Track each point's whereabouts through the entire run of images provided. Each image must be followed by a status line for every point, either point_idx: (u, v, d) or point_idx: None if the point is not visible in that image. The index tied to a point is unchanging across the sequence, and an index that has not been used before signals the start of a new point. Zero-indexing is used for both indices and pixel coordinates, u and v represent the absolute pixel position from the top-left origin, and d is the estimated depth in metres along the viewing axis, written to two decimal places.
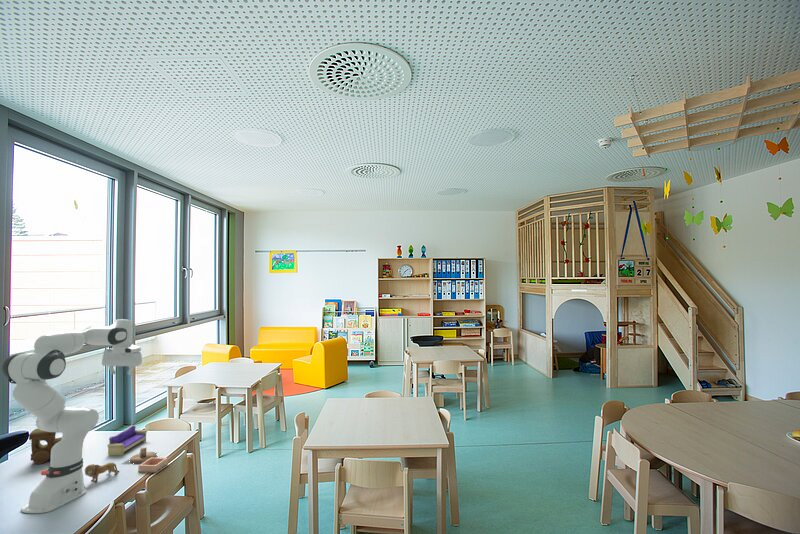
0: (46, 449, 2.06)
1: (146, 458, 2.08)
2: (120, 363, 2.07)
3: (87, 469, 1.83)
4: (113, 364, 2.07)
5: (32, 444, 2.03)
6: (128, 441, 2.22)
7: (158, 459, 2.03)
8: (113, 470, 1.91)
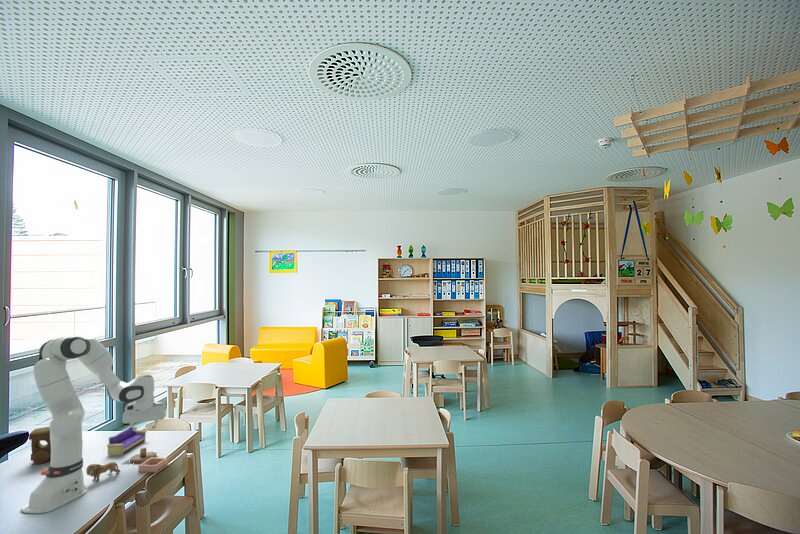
0: (46, 449, 2.06)
1: (146, 458, 2.08)
2: None
3: (89, 469, 1.84)
4: None
5: (32, 444, 2.03)
6: (128, 441, 2.22)
7: (158, 459, 2.03)
8: (114, 470, 1.92)
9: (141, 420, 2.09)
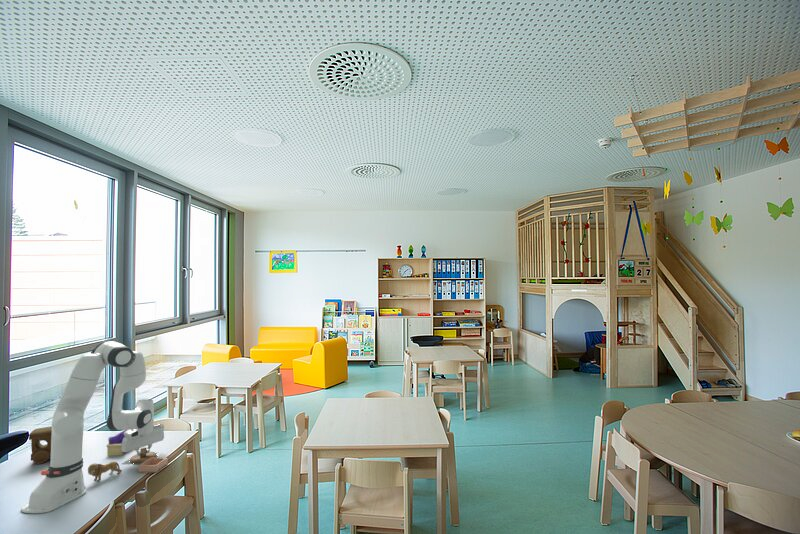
0: (46, 449, 2.06)
1: (146, 458, 2.08)
2: None
3: (90, 468, 1.84)
4: None
5: (32, 444, 2.03)
6: None
7: (158, 459, 2.03)
8: (116, 469, 1.92)
9: (143, 445, 2.09)
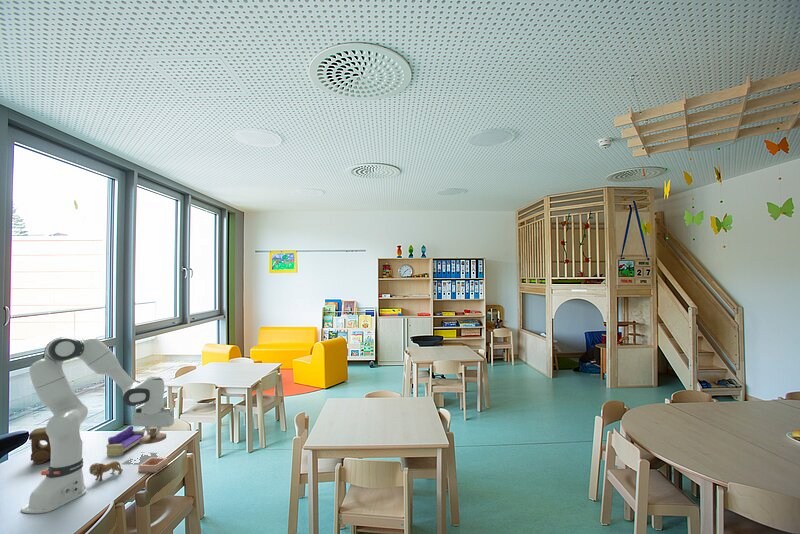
0: (46, 449, 2.06)
1: (147, 440, 1.97)
2: None
3: (92, 468, 1.84)
4: None
5: (32, 444, 2.03)
6: (127, 441, 2.22)
7: (158, 459, 2.03)
8: (117, 469, 1.93)
9: (149, 425, 2.00)
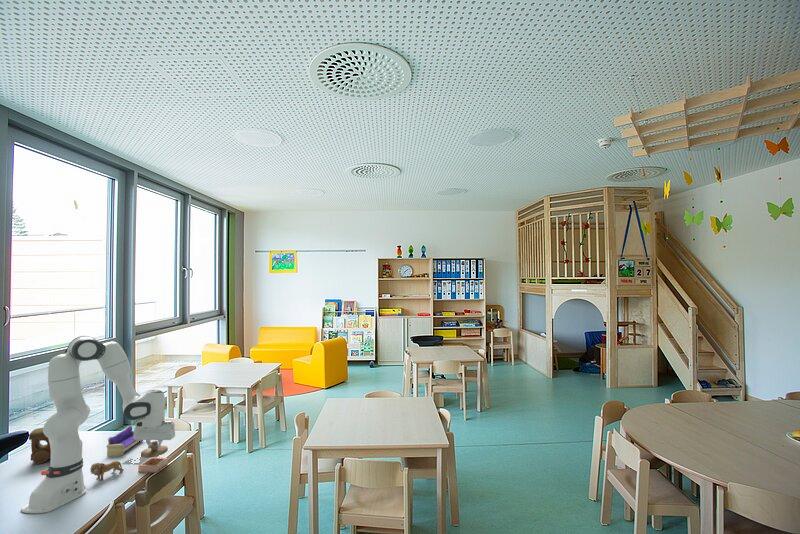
0: (46, 449, 2.06)
1: (149, 453, 1.96)
2: None
3: (93, 468, 1.85)
4: None
5: (32, 444, 2.03)
6: (127, 441, 2.22)
7: (158, 459, 2.03)
8: (118, 468, 1.93)
9: (150, 438, 1.98)
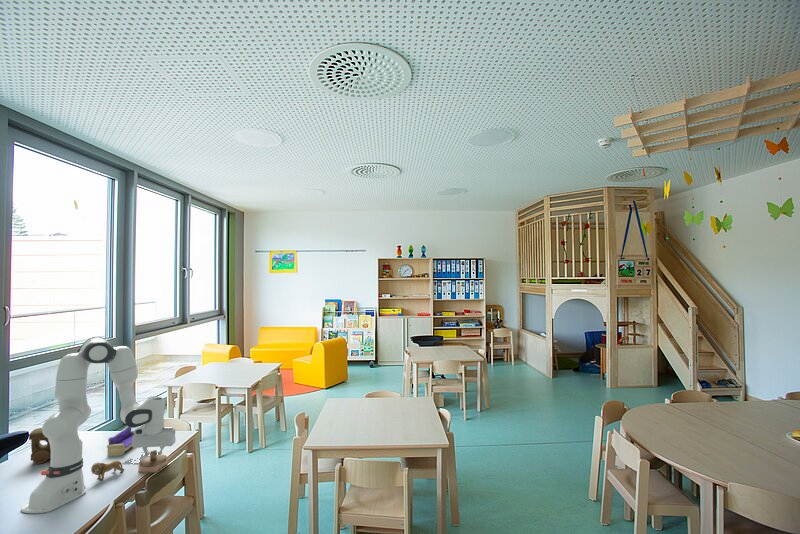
0: (46, 449, 2.06)
1: (149, 463, 1.96)
2: None
3: (94, 467, 1.85)
4: None
5: (32, 444, 2.03)
6: (127, 441, 2.22)
7: None
8: (119, 468, 1.93)
9: (150, 445, 1.98)
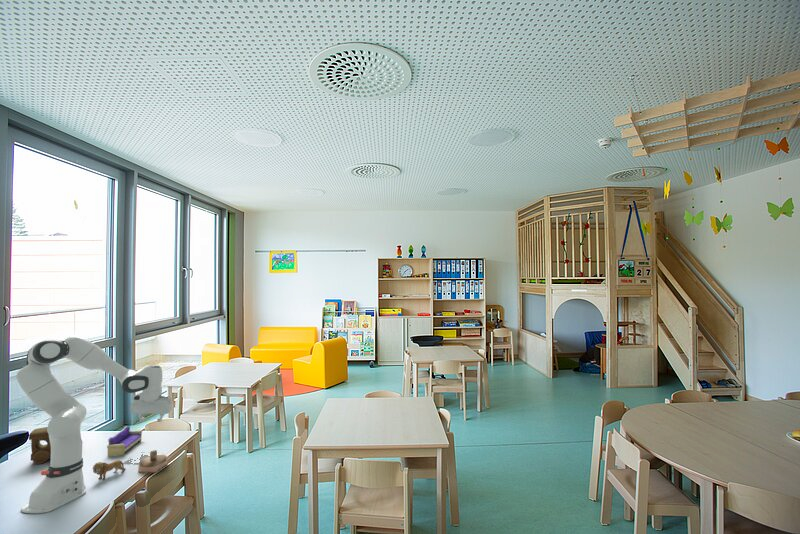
0: (46, 449, 2.06)
1: (149, 463, 1.96)
2: None
3: (95, 467, 1.85)
4: None
5: (32, 444, 2.03)
6: (126, 441, 2.22)
7: None
8: (120, 468, 1.94)
9: (147, 412, 2.03)
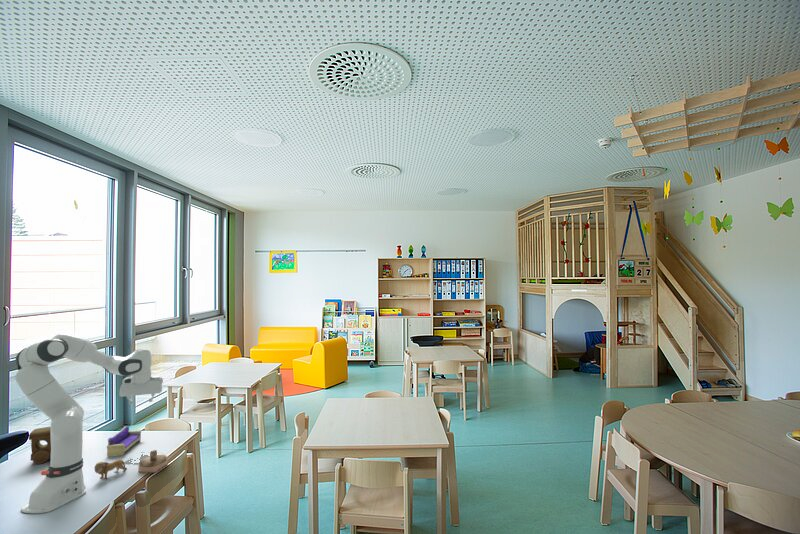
0: (46, 449, 2.06)
1: (149, 463, 1.96)
2: None
3: (97, 466, 1.86)
4: None
5: (32, 444, 2.03)
6: (126, 441, 2.22)
7: None
8: (122, 467, 1.94)
9: (138, 394, 2.15)
